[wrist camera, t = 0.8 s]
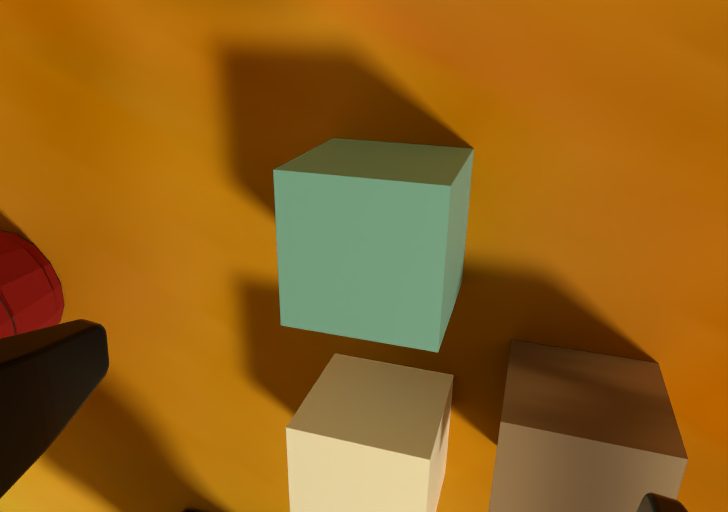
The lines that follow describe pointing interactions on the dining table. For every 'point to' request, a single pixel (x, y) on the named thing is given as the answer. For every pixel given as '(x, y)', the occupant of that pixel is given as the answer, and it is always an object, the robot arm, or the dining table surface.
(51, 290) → the plastic cup
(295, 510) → the cream block
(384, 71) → the dining table surface
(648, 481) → the walnut block
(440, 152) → the teal block
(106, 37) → the dining table surface
